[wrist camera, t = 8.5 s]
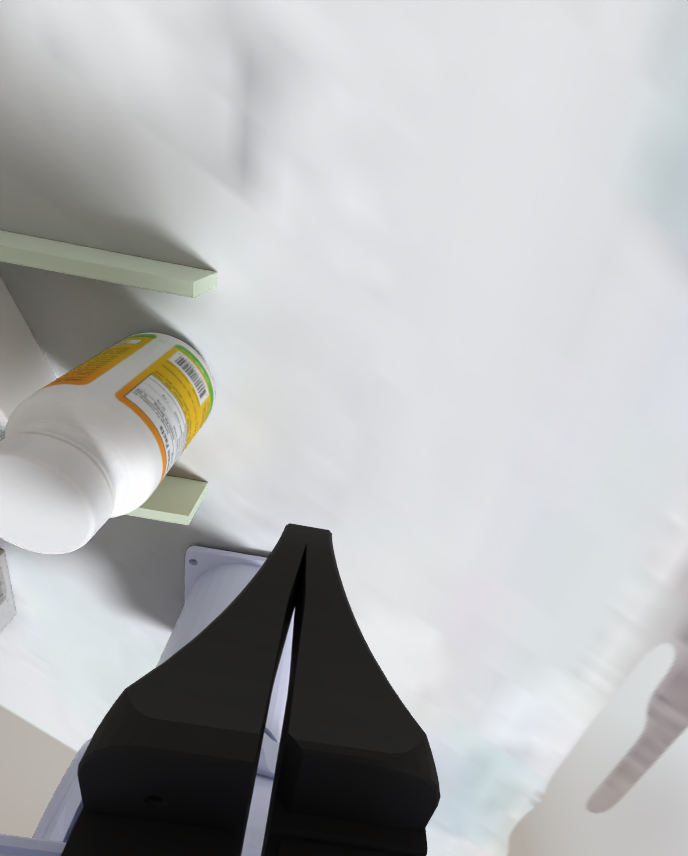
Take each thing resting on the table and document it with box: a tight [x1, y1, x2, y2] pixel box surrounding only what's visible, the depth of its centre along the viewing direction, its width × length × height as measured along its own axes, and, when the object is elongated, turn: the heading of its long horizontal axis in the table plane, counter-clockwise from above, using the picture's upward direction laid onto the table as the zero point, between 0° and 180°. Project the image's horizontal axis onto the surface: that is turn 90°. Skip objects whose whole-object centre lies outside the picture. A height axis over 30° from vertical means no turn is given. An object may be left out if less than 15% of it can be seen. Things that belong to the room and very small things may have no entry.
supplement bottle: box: [0, 332, 216, 554], centre depth 17 cm, size 5×5×10 cm
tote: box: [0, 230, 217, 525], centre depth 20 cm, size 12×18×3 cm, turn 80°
